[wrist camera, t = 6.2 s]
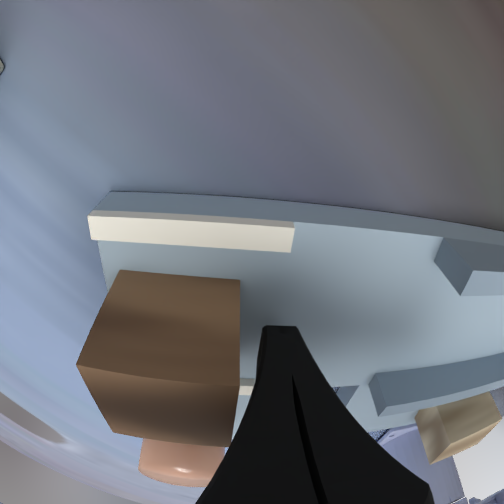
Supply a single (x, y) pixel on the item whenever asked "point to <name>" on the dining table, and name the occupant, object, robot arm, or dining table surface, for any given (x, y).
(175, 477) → the peach rounded cylinder
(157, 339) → the walnut block
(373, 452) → the robot arm
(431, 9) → the dining table surface
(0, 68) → the skincare box
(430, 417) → the beech block
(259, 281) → the slate board with cubby
